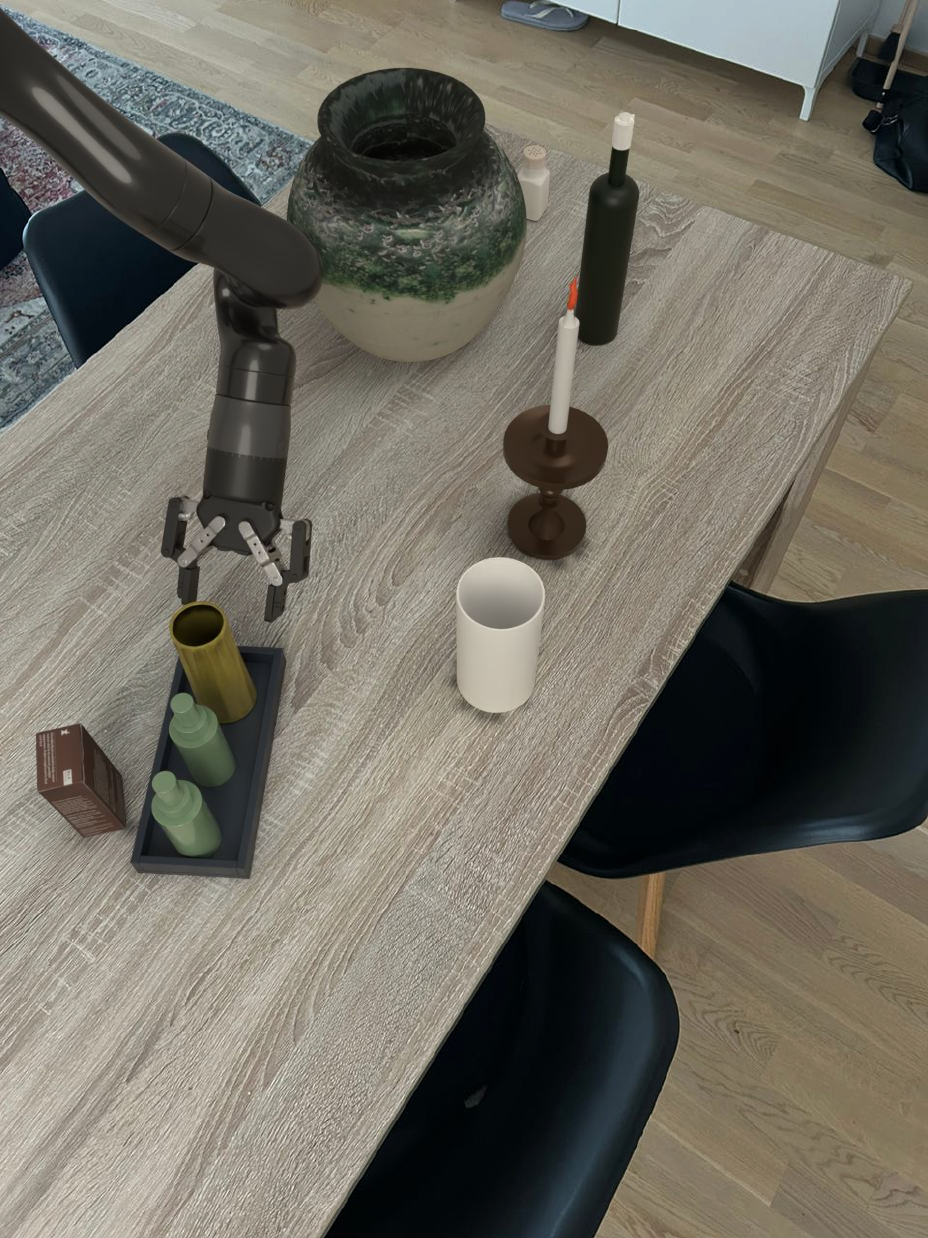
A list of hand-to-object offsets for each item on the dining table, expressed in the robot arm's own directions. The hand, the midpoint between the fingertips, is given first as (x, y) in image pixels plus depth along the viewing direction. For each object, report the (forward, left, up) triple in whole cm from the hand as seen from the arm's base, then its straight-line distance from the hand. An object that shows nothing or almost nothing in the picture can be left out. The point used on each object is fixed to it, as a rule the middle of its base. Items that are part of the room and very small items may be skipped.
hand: (229, 612), depth 102 cm
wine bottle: (+38, +52, -10) cm, 65 cm away
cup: (+27, -1, -10) cm, 28 cm away
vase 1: (-1, -5, -9) cm, 10 cm away
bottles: (-1, -16, -9) cm, 19 cm away
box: (-11, -17, -10) cm, 23 cm away
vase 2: (+14, +51, -10) cm, 54 cm away
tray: (-1, -12, -9) cm, 15 cm away
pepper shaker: (+29, +76, -10) cm, 82 cm away
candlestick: (+32, +19, -10) cm, 38 cm away
